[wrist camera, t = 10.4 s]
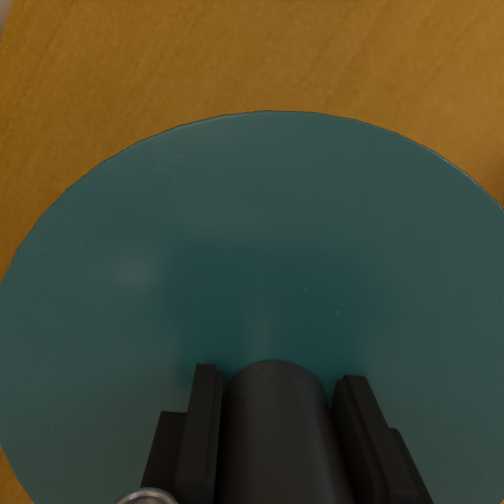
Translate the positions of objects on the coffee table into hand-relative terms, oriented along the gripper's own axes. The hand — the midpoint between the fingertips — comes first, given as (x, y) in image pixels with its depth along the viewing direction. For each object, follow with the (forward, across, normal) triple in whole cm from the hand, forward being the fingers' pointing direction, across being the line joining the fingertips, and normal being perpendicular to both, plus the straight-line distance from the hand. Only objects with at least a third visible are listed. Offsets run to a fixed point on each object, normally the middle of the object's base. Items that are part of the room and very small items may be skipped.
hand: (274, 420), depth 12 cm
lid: (+1, 0, 0) cm, 1 cm away
